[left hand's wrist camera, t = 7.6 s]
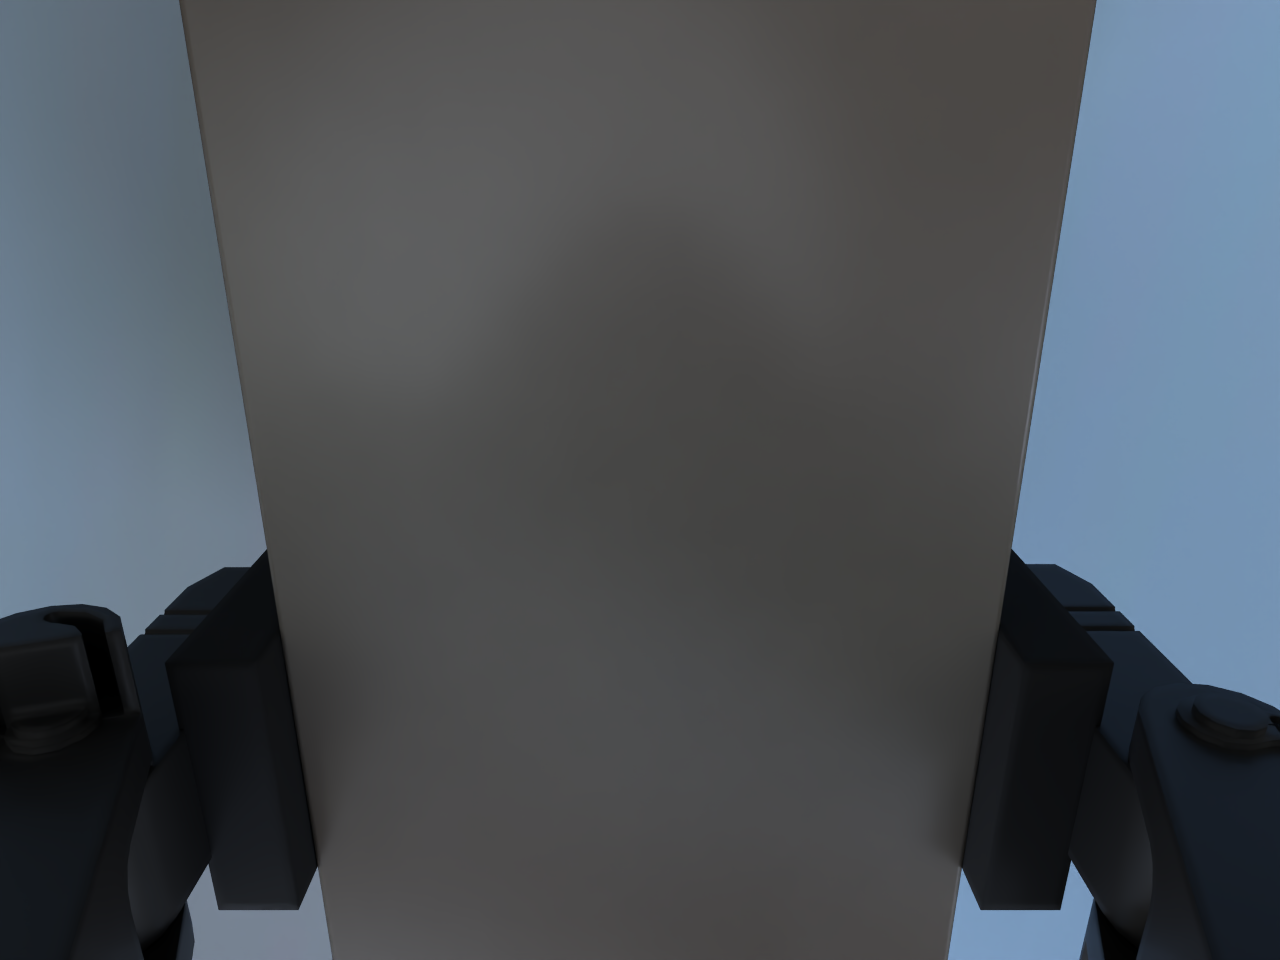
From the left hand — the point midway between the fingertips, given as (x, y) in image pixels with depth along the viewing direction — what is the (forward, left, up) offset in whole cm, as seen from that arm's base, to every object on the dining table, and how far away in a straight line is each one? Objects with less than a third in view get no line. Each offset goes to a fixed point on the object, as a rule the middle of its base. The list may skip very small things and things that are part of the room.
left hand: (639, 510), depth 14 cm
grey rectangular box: (+5, -4, -6) cm, 9 cm away
